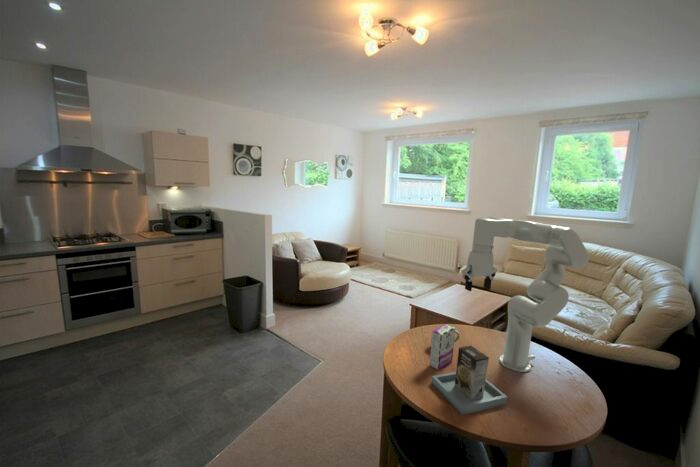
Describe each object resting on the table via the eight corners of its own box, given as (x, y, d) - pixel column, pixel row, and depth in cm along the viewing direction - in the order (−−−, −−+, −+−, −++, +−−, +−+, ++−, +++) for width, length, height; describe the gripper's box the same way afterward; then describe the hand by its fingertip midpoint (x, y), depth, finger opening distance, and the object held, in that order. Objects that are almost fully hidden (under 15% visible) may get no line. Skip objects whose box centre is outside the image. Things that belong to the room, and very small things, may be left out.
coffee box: (453, 385, 121) (458, 347, 119) (466, 382, 124) (471, 344, 121) (470, 400, 113) (475, 359, 111) (484, 397, 115) (489, 356, 113)
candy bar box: (442, 357, 143) (446, 323, 141) (452, 362, 140) (456, 327, 137) (428, 365, 136) (431, 330, 133) (438, 370, 132) (442, 334, 130)
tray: (472, 375, 130) (473, 368, 130) (506, 404, 113) (507, 396, 113) (431, 383, 124) (432, 376, 123) (461, 415, 107) (462, 407, 106)
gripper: (492, 246, 132) (487, 285, 135) (458, 247, 126) (454, 287, 129) (506, 250, 125) (501, 290, 128) (471, 251, 119) (466, 294, 122)
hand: (477, 289), depth 128 cm, fingers open, 9 cm apart
